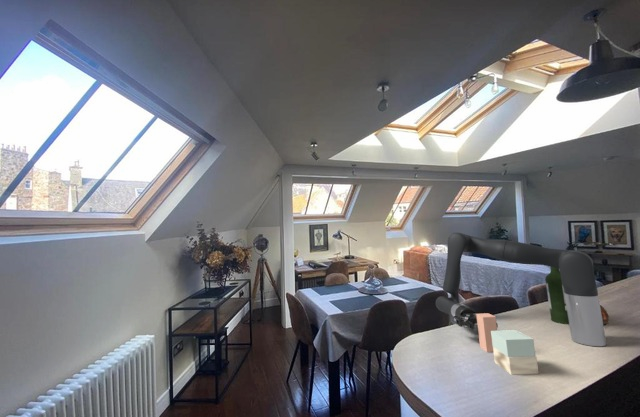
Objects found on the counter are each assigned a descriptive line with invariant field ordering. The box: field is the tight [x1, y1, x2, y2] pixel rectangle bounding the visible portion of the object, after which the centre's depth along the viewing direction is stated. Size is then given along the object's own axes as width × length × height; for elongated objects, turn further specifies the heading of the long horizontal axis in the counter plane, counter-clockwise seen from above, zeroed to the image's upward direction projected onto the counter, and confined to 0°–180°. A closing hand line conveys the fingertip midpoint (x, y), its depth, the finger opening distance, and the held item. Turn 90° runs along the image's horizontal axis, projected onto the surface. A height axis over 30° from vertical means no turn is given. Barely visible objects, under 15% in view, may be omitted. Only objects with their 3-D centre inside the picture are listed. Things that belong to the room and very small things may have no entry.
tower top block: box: [491, 329, 537, 357], centre depth 84 cm, size 8×8×5 cm
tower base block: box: [492, 347, 539, 376], centre depth 84 cm, size 8×8×5 cm
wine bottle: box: [544, 266, 569, 325], centre depth 123 cm, size 8×8×30 cm
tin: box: [600, 304, 610, 325], centre depth 120 cm, size 15×3×8 cm, turn 168°
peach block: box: [476, 312, 498, 353], centre depth 98 cm, size 4×4×12 cm
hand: (484, 326), depth 100 cm, fingers open, 8 cm apart
